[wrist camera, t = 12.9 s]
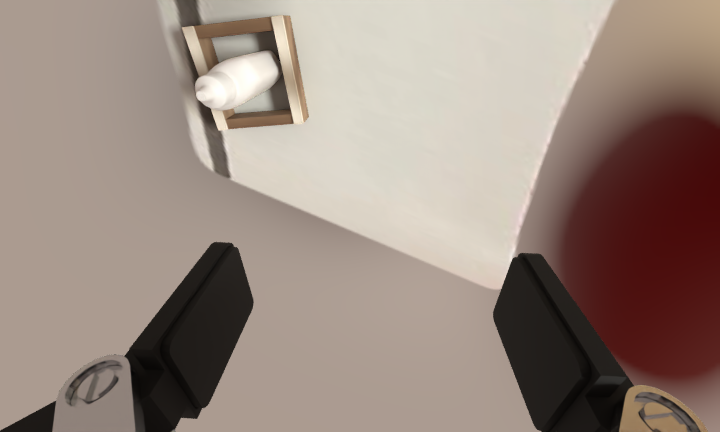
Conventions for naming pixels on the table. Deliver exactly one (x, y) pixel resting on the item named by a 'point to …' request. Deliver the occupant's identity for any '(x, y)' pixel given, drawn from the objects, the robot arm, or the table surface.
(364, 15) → the table surface
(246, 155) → the table surface
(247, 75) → the eye dropper bottle
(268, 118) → the walnut collar
